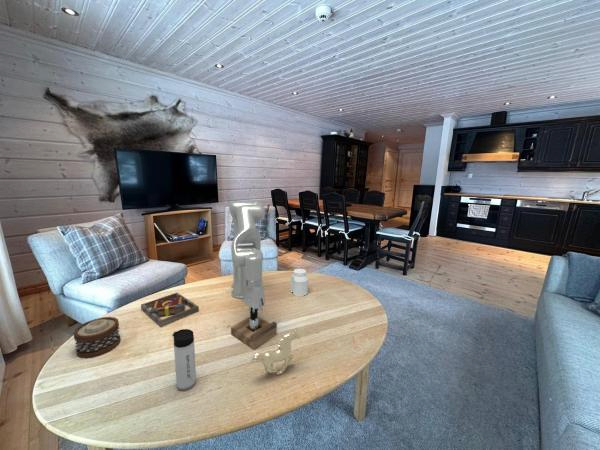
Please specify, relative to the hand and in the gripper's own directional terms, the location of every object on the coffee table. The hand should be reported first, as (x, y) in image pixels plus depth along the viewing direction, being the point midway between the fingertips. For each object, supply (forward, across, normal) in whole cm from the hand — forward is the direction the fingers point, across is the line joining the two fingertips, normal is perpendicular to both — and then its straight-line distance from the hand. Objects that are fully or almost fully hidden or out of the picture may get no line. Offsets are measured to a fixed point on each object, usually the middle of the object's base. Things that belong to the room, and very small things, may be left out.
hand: (253, 318), depth 112 cm
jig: (+8, 0, 0) cm, 8 cm away
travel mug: (+9, +3, -34) cm, 35 cm away
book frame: (+8, -50, -16) cm, 53 cm away
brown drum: (+9, -43, -48) cm, 65 cm away
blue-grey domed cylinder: (+8, 0, 0) cm, 8 cm away
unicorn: (+9, +24, -10) cm, 27 cm away
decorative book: (+8, -50, -16) cm, 53 cm away
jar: (+8, -11, +48) cm, 50 cm away
